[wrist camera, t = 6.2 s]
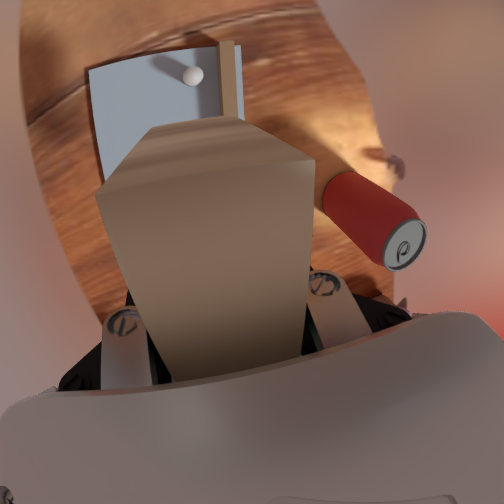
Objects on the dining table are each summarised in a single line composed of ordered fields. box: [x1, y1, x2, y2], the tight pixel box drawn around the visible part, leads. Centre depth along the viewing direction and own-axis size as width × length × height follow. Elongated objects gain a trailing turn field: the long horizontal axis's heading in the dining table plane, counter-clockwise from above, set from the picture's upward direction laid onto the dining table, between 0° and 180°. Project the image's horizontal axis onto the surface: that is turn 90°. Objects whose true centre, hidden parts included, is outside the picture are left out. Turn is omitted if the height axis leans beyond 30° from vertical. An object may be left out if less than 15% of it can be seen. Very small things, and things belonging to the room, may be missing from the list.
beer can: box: [323, 172, 427, 272], centre depth 27 cm, size 7×7×12 cm
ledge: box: [89, 41, 244, 182], centre depth 26 cm, size 30×14×4 cm, turn 3°
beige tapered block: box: [95, 115, 315, 382], centre depth 9 cm, size 10×3×7 cm, turn 4°
